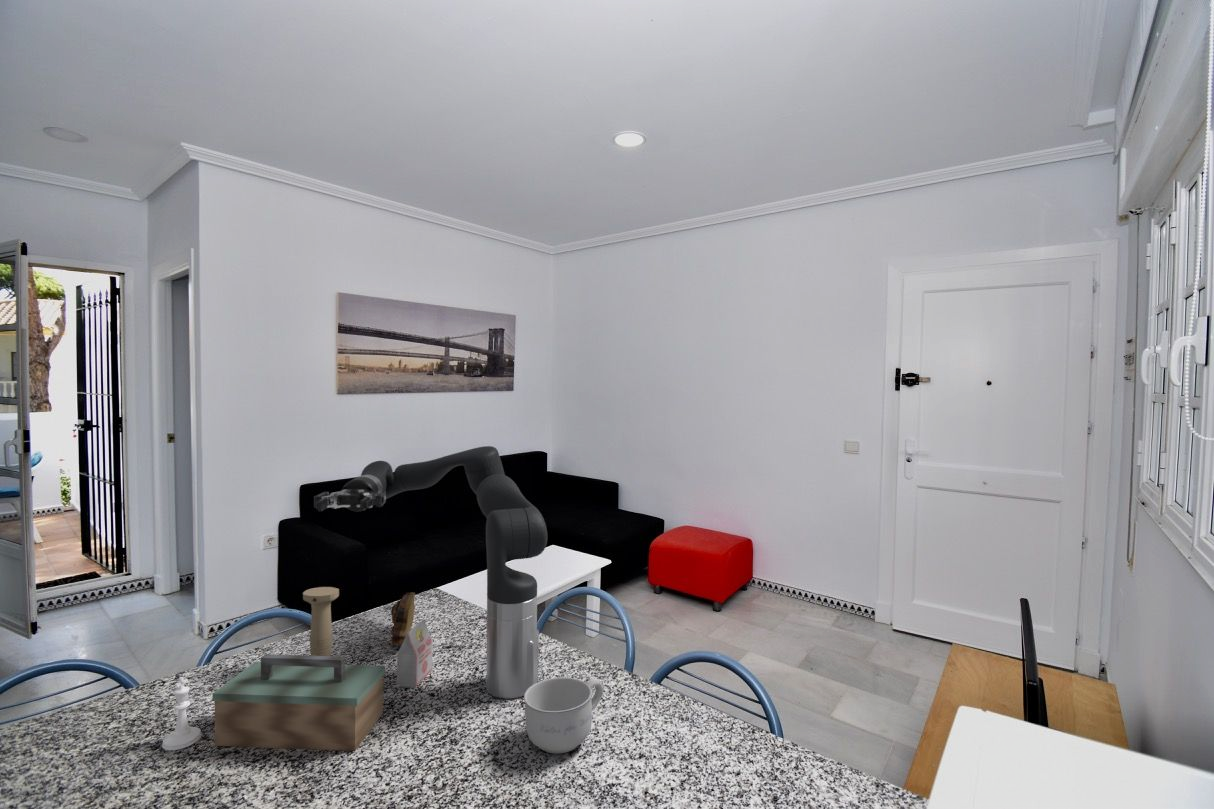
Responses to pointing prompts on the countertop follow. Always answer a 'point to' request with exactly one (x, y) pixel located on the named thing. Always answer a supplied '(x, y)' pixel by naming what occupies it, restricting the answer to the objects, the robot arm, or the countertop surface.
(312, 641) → the handle
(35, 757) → the countertop surface
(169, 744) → the chess piece
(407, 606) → the wooden carving
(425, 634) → the milk carton
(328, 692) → the toolbox
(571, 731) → the teacup
